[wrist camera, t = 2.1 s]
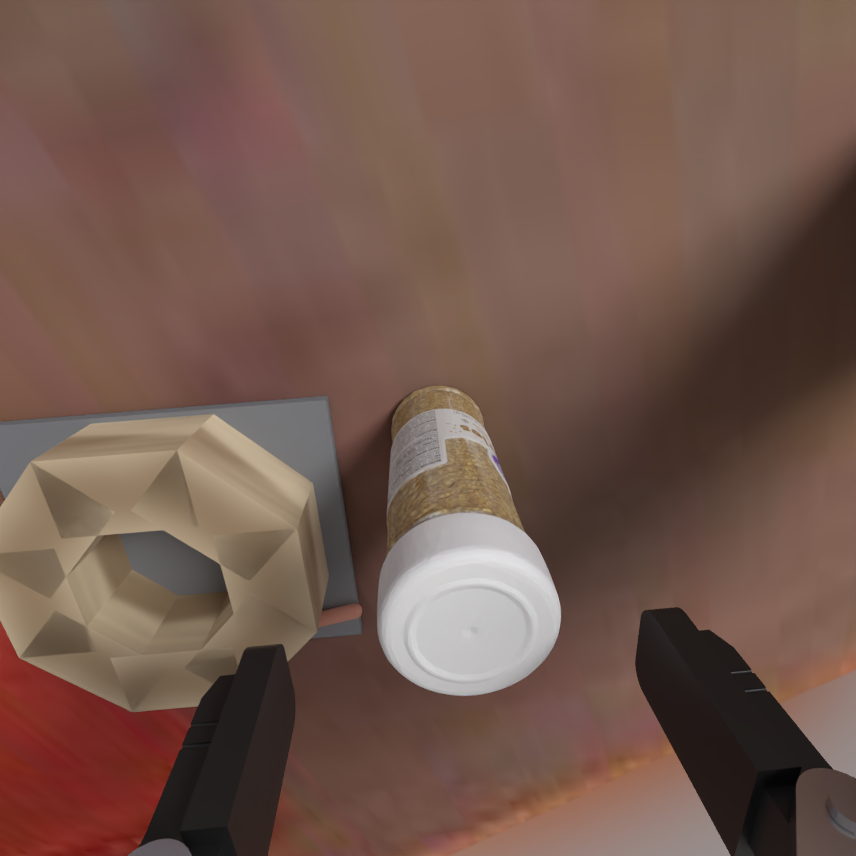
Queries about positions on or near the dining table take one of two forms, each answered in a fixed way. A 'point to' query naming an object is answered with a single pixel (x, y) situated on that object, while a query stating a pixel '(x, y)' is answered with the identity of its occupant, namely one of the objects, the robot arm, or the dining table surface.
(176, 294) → the dining table surface
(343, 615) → the reddish pink rod
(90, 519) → the octagonal faceted ring
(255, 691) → the robot arm
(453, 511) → the sprinkles bottle
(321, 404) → the mat
